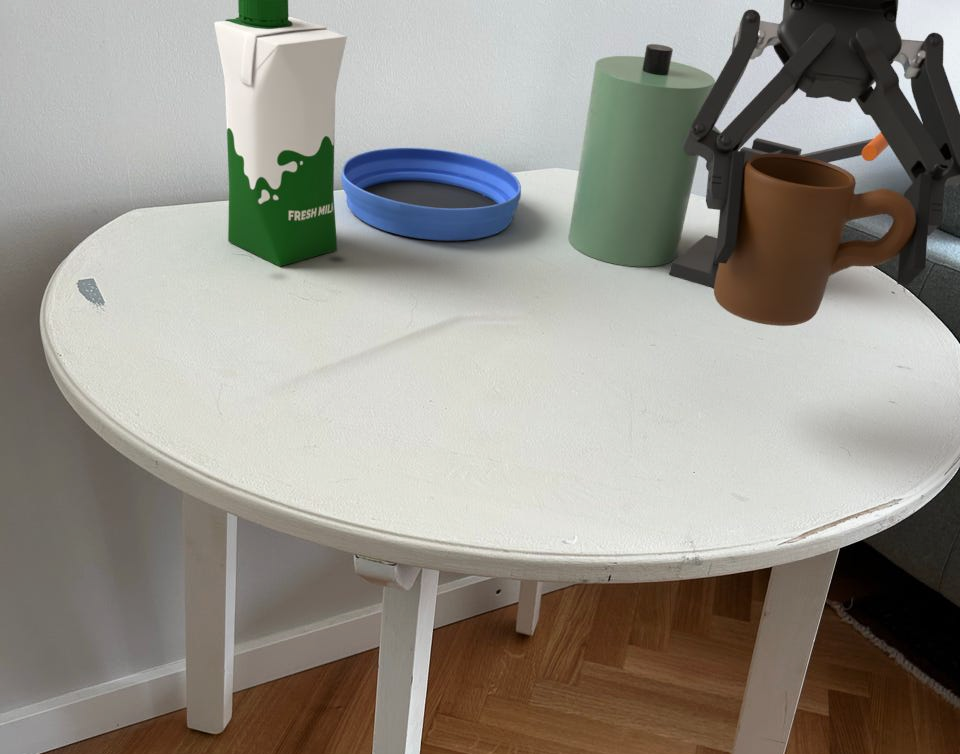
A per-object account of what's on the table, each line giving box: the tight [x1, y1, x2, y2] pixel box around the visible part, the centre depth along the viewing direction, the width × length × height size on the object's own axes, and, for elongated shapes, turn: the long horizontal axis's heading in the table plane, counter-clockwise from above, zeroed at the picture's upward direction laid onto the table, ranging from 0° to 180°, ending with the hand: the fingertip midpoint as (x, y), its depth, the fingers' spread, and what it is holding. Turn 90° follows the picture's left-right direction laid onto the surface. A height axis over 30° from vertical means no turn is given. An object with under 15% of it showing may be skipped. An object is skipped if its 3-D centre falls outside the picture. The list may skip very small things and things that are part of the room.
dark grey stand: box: [668, 137, 802, 289], centre depth 105 cm, size 11×10×12 cm
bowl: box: [340, 147, 522, 242], centre depth 112 cm, size 18×18×4 cm
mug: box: [713, 154, 916, 327], centre depth 76 cm, size 12×8×9 cm, turn 74°
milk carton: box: [213, 0, 348, 267], centre depth 96 cm, size 9×9×20 cm
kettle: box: [568, 43, 722, 268], centre depth 105 cm, size 15×11×18 cm
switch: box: [771, 131, 889, 163], centre depth 100 cm, size 12×7×2 cm, turn 62°
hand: (818, 265), depth 74 cm, fingers closed on mug, 12 cm apart
